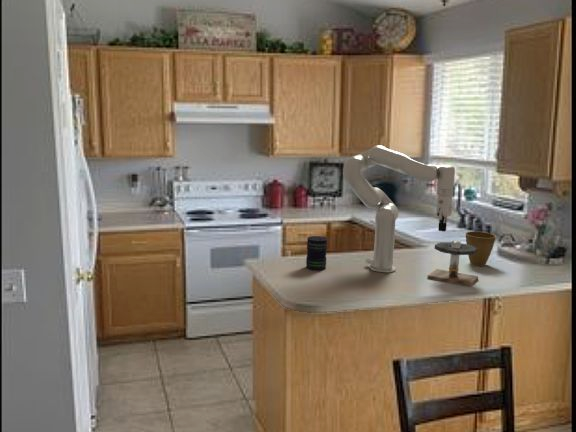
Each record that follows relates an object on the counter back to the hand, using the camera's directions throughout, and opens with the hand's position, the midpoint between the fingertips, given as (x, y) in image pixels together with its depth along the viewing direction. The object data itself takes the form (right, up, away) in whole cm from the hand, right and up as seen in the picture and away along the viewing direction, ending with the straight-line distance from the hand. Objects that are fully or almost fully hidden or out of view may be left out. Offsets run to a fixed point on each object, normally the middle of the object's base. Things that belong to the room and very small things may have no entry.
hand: (442, 230), depth 266 cm
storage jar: (-59, -19, +10) cm, 63 cm away
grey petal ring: (+6, -9, -2) cm, 11 cm away
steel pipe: (+5, -21, 0) cm, 22 cm away
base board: (+5, -23, 0) cm, 23 cm away
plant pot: (+27, -18, +29) cm, 43 cm away
